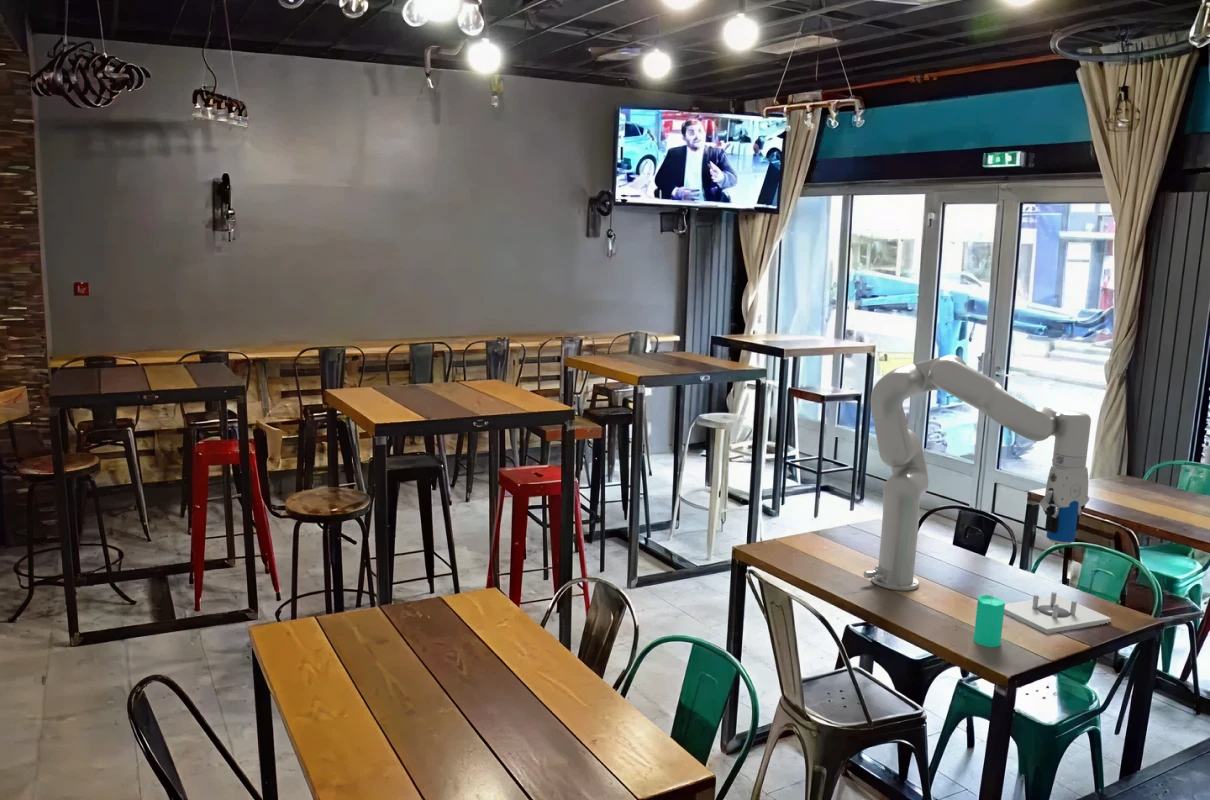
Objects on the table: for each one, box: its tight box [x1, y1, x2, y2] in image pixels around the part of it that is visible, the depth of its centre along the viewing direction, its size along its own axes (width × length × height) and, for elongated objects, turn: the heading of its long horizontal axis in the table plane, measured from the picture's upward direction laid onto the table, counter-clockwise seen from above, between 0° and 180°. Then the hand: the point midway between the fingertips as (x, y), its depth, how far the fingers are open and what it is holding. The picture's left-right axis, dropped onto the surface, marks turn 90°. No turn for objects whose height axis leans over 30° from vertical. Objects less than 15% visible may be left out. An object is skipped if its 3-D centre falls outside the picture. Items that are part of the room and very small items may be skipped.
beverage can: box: [1046, 498, 1079, 545], centre depth 238 cm, size 6×6×12 cm
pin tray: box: [1004, 591, 1112, 635], centre depth 241 cm, size 22×16×5 cm
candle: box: [973, 594, 1006, 648], centre depth 223 cm, size 6×6×12 cm
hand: (1061, 529), depth 238 cm, fingers closed on beverage can, 6 cm apart
